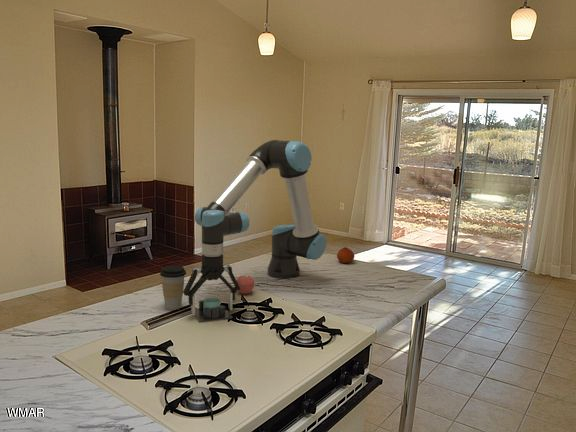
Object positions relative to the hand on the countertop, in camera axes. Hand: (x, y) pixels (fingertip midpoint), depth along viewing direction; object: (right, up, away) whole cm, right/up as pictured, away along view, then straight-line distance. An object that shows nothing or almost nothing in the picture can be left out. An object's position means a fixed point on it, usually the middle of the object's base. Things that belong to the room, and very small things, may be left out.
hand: (212, 311), depth 173 cm
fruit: (+57, +10, +74) cm, 94 cm away
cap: (0, -1, 0) cm, 1 cm away
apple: (+10, +3, +23) cm, 26 cm away
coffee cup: (-15, 0, +6) cm, 16 cm away
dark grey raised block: (0, -1, 0) cm, 1 cm away
